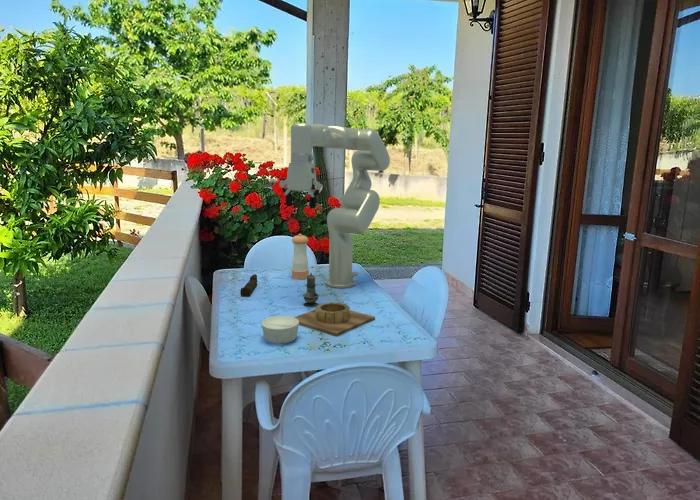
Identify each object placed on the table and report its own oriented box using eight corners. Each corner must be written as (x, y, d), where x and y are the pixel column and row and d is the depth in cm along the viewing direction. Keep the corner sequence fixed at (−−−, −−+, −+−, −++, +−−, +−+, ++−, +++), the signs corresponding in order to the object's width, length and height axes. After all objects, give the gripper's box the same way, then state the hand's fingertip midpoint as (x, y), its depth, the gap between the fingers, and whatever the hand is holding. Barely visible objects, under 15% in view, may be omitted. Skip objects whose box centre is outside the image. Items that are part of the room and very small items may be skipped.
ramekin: (266, 348, 148) (266, 330, 147) (257, 334, 158) (257, 318, 157) (304, 342, 152) (304, 325, 151) (292, 329, 162) (292, 313, 161)
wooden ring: (330, 310, 178) (330, 300, 177) (356, 317, 172) (356, 307, 171) (309, 318, 170) (309, 308, 169) (334, 326, 163) (335, 315, 162)
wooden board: (329, 307, 185) (329, 304, 184) (374, 319, 173) (375, 316, 172) (289, 321, 169) (289, 318, 169) (336, 336, 157) (336, 333, 157)
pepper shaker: (299, 274, 229) (299, 231, 225) (312, 277, 225) (312, 233, 221) (288, 277, 223) (287, 234, 219) (301, 280, 219) (300, 236, 215)
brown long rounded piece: (250, 297, 195) (250, 286, 194) (240, 297, 195) (239, 285, 194) (262, 284, 214) (262, 273, 213) (253, 284, 214) (252, 273, 213)
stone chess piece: (302, 302, 190) (302, 270, 187) (318, 302, 190) (319, 270, 188) (302, 307, 184) (302, 274, 182) (319, 307, 185) (319, 274, 182)
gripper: (327, 159, 184) (326, 208, 187) (286, 158, 191) (286, 204, 194) (317, 160, 177) (316, 209, 180) (274, 158, 184) (274, 206, 187)
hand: (300, 207), depth 187 cm, fingers open, 9 cm apart
